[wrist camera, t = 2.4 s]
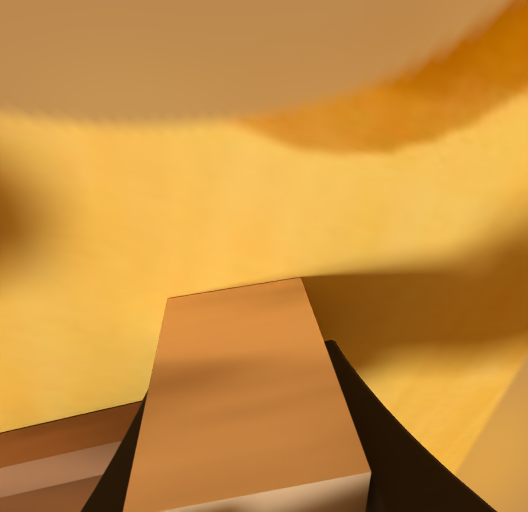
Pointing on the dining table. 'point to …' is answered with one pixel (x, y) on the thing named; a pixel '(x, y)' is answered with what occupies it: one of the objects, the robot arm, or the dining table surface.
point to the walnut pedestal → (59, 460)
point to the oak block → (246, 411)
